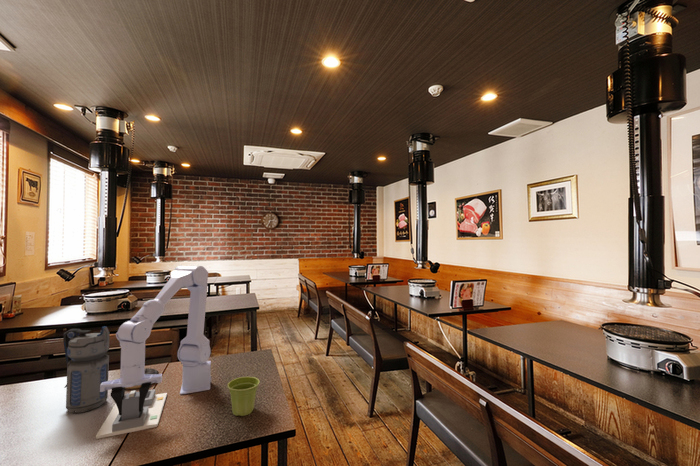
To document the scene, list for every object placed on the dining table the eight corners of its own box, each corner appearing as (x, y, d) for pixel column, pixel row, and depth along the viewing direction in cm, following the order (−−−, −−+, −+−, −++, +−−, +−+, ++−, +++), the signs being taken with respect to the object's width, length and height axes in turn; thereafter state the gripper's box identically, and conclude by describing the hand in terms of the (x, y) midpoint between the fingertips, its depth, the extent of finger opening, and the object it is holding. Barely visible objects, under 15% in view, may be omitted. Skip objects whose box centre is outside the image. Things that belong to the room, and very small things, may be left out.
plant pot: (250, 400, 103) (250, 373, 103) (264, 411, 96) (265, 383, 96) (221, 410, 96) (222, 382, 96) (235, 423, 89) (235, 393, 90)
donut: (125, 379, 118) (125, 369, 118) (161, 374, 123) (161, 364, 123) (116, 392, 108) (117, 381, 108) (156, 386, 113) (156, 375, 113)
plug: (141, 415, 92) (142, 388, 92) (138, 422, 88) (139, 394, 88) (125, 418, 90) (125, 390, 90) (121, 425, 86) (122, 396, 87)
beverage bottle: (76, 398, 103) (78, 323, 104) (117, 397, 104) (119, 322, 105) (47, 415, 93) (51, 331, 94) (93, 414, 94) (96, 331, 95)
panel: (167, 395, 106) (167, 386, 106) (157, 426, 88) (157, 416, 88) (117, 403, 100) (117, 394, 100) (95, 439, 82) (96, 428, 82)
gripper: (96, 373, 82) (95, 425, 82) (160, 364, 88) (158, 413, 88) (105, 363, 89) (103, 411, 88) (163, 356, 95) (162, 401, 94)
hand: (131, 411), depth 89 cm, fingers closed on plug, 4 cm apart
